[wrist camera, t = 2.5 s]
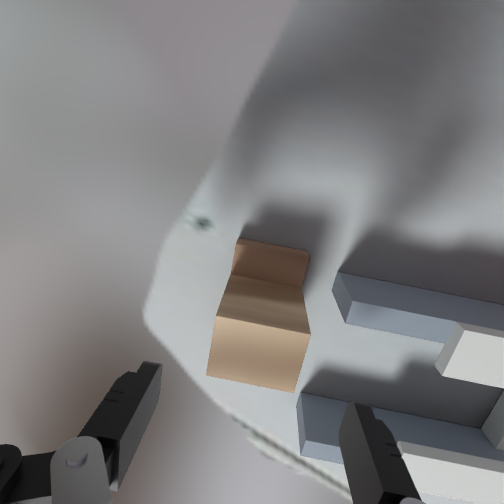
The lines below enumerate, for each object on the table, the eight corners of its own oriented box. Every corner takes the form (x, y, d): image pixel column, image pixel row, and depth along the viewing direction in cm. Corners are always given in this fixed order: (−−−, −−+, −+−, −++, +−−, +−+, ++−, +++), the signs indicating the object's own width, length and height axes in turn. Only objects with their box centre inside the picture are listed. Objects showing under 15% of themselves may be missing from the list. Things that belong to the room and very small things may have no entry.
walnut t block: (238, 237, 19) (222, 277, 13) (306, 250, 19) (321, 296, 13) (221, 333, 22) (201, 405, 16) (282, 346, 22) (285, 422, 16)
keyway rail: (337, 271, 20) (356, 308, 15) (564, 317, 19) (652, 367, 15) (296, 406, 23) (301, 467, 19) (485, 444, 23) (536, 515, 19)
